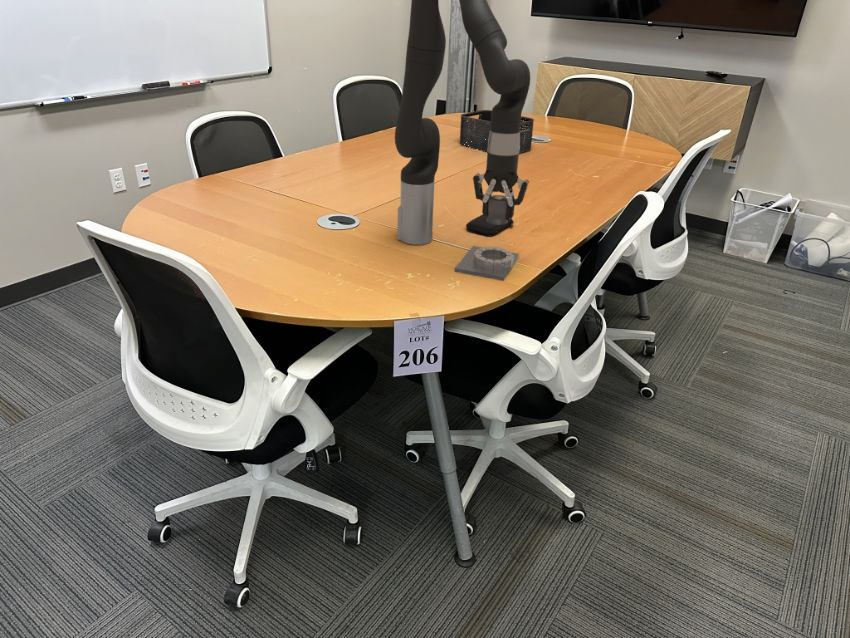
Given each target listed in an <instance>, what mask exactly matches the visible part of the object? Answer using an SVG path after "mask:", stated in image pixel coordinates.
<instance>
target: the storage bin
mask: <svg viewBox="0 0 850 638" xmlns="http://www.w3.org/2000/svg"><path fill="white" fill-rule="evenodd" d="M491 113H492V110H490V109H485V110H484V109H483V110H478V111H477V110H475V111H472V112H467V113H461V114H460V129H459V131H460V132H459V145H460V144H461V145H464V144H465V145H464V146H463V147H465V146H467V147H466V148H469V147H471V148H470V149H472V148H475V149H474V150H476V149H478V150H477V151H480V150H482V151H481V152H484V151H486V152H485V153H487V151H488V139H489V134H490V125H491ZM475 116H478V117H477V118H476V117H475ZM534 122H535V119H534V118H531V117H527V116H522V115H521V125H520V150H519V154H523V153H526V152H525V151H527V152H529V151H531V150H532V142H533V131H534ZM485 139H486V140H485ZM471 141H472V142H471ZM466 142H467V143H466ZM461 145H460V146H461ZM468 145H469V146H468ZM522 152H523V153H522Z"/></svg>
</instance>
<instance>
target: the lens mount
mask: <svg viewBox="0 0 850 638" xmlns="http://www.w3.org/2000/svg"><path fill="white" fill-rule="evenodd" d="M519 257H520V253H517V252H511V251H510V250H508V249H506V248H502V247H497V246H496V247H495V246H485V247H483V246H477V245H473V246H472V247H471V248H470V249H469V250H468V251H467V252H466V253H465V255H464V256H463V257H462V259H461V260H460V261H459V262H458V263H457V265H456V266H455V267H454V272H456V273H459V274H460V273H461V274H466V275H471V276H476V277H482V278H487V279H491V280H498V281H503V282H504V281H505V280H506V278H507V277H508V276H509V274H510V272H511V270H512V269H513V267H514V266H515V264H516V262H517V260H518V259H519Z"/></svg>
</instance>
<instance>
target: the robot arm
mask: <svg viewBox="0 0 850 638" xmlns="http://www.w3.org/2000/svg"><path fill="white" fill-rule="evenodd" d="M458 1H459V5H460V12H461V19H462V23H463V27H464V30H465V32H466V35H467V36H468V38H469V39H470V42H471V44H472V45H473V47H474V49H475V51H476V52H477V54H478V57H479V60H480V65H481V67H482V71H483V74H484V75H483V76H484V78H485V80H486V82H487V85H488V86H489V87H490V89H491V90H492V91H493V92H494V93H496V94H498V95H500V97H499V101H498V102H497V103H496V104H495V105H494V106H493V107H492V110H491V111H492V113H491V125H490V134H489V139H488V151H487V152H486V153H487V154H486V155H487V156H486V164H485V166H486V167H485V172H484V173H476V174H474V175H473V177H472V181H473V187H474V188H473V189H474V195H475V199H477V200H479V201H481V202H482V211H481V212H482V215H483V214H484V217H487V213H488V200H489V197H490V196H492V195H493V193H498V192H499V193H501V194H504V196H506V198H507V201H508V204H509V206H507V217H506V220H510V219H513V217H514V214H515V206H520V205H521V204H522V202H523V201H524V198H525V196H526V192H527V190H528V187H529V185H530V181H529V180H528V179H521V178H520V177H519V175H518V167H519V166H518V165H519V156H520V153H519V150H520V128H521V127H520V125H521V116H522V112H523V109H524V107H525V104H526V101H527V97H528V93H529V89H530V85H531V72H530V68H529V66H528V64H527V63H526V61H524V60H523V59H518V58H517V59H516V58H515V59H509V58H508V57H507V54H506V51H505V49H506V48H507V45H508V39H507V37H506V35H505V33H504V31H503V29H502V27H501V25H500V24H499V21H498V20H497V18H496V16H495V15H494V13H493V11H492V9H491V7H490V5H489V3H488V1H487V0H458ZM409 17H410V18H409V29H408V37H407V44H406V53H405V67H404V76H403V83H402V84H403V86H402V91H401V92H402V93H401V99H400V105H399V108H398V109H399V110H398V114H397V115H398V116H397V119H396V125H395V131H394V144H395V147H396V151H397V152H398V154H399V155H400V156H401V157H403V158H405V159H409V161H408V163H406V165H405V166H404V167H402V168H401V171H400V205H399V206H398V207H397V241H401V242H403V243H405V244H407V245H413V246H415V245H416V246H419V245H420V246H421V245H426V244H428V243H430V242H432V241H433V228H434V227H433V225H434V204H435V203H434V201H435V177H436V174H437V171H438V167H439V158H440V150H441V149H440V147H441V134H440V129H439V127H438V125H437V124H436V122H435V121H434V120H433V119H431V118H429V117H423V113H424V110H425V106H426V102H427V101H428V98H429V96H430V95H431V93H432V91H433V89H434V88H435V86H436V84H437V83H438V81H439V79H440V76H441V74H442V71H443V66H444V61H445V54H446V53H445V52H446V46H447V45H446V44H447V40H446V39H447V38H446V33H445V28H444V23H443V20H442V17H441V13H440V7H439V0H411V7H410V15H409ZM484 181H485V182H486V184H487V186H488V188H487V190H485V193H484V190H483V185H482V183H483V182H484ZM516 184H517V185H518V189H519V192H518V194H517V198H515V192H514V188H513V187H514V186H515V185H516Z"/></svg>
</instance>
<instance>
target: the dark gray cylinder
mask: <svg viewBox="0 0 850 638" xmlns="http://www.w3.org/2000/svg"><path fill="white" fill-rule="evenodd" d="M507 206H509V204H508V201H507V198H506V196H505V195H500V194H492V195H491V196H490V197H489V200H488V213H487V222H488V223H490V224H494V225H503V224H506V223H507V222H508V220H506V217H507Z"/></svg>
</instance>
